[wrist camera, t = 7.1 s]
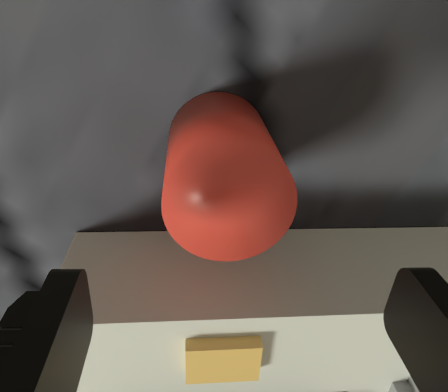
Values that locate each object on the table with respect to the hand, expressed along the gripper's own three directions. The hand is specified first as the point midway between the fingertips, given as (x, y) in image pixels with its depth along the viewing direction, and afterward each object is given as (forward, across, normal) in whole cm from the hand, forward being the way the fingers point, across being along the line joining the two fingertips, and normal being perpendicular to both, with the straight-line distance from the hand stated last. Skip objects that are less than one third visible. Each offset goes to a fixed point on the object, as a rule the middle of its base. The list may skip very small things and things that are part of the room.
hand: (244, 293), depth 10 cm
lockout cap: (+9, 0, -1) cm, 9 cm away
